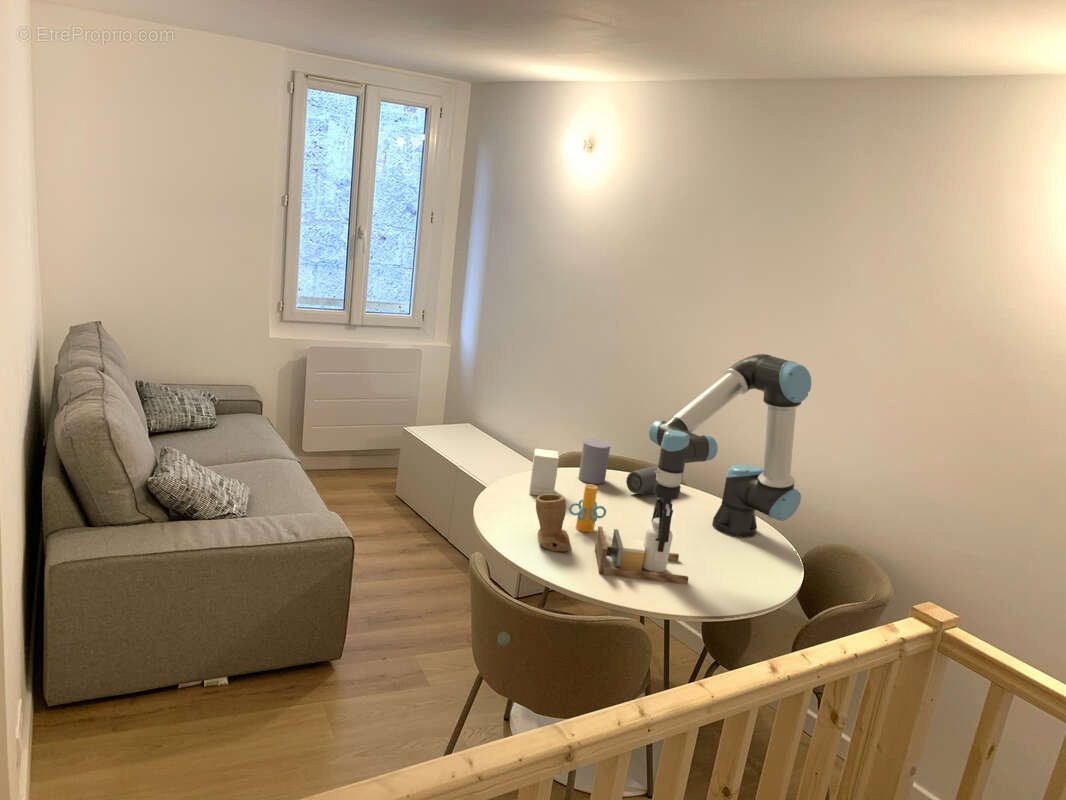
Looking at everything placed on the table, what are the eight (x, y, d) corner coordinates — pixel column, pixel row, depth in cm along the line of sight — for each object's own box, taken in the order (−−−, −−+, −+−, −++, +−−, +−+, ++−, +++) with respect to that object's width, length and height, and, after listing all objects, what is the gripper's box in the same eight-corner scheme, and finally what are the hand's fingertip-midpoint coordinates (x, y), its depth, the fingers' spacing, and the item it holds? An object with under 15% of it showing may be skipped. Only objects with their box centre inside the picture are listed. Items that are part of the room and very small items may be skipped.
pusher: (614, 553, 246) (618, 529, 245) (618, 573, 233) (623, 547, 232) (610, 553, 246) (614, 529, 244) (614, 572, 233) (619, 547, 231)
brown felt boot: (530, 530, 256) (536, 486, 253) (567, 534, 257) (573, 491, 253) (531, 550, 241) (537, 504, 238) (570, 555, 242) (577, 509, 238)
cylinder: (590, 539, 255) (596, 495, 252) (562, 529, 260) (568, 486, 257) (607, 528, 266) (614, 486, 262) (580, 519, 271) (586, 477, 267)
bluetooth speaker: (660, 483, 319) (664, 459, 316) (679, 491, 312) (683, 467, 310) (623, 491, 303) (627, 467, 301) (641, 500, 297) (646, 475, 294)
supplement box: (553, 497, 287) (559, 458, 284) (528, 494, 287) (534, 455, 284) (553, 489, 296) (558, 450, 293) (529, 486, 296) (534, 447, 292)
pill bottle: (665, 575, 236) (674, 528, 232) (638, 569, 237) (647, 523, 234) (666, 564, 244) (675, 518, 240) (640, 558, 245) (648, 513, 241)
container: (576, 481, 307) (582, 444, 304) (579, 473, 317) (585, 437, 314) (603, 486, 306) (609, 449, 303) (605, 478, 316) (611, 442, 312)
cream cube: (638, 561, 244) (642, 540, 242) (641, 572, 237) (645, 550, 235) (615, 559, 244) (618, 537, 242) (617, 569, 237) (621, 547, 235)
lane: (677, 559, 249) (681, 536, 247) (687, 584, 233) (692, 559, 231) (594, 550, 248) (598, 526, 246) (599, 574, 232) (603, 548, 230)
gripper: (650, 469, 244) (638, 538, 249) (661, 494, 224) (648, 568, 229) (674, 472, 244) (662, 541, 250) (687, 497, 224) (673, 571, 229)
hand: (655, 554), depth 239 cm, fingers closed on pill bottle, 8 cm apart
